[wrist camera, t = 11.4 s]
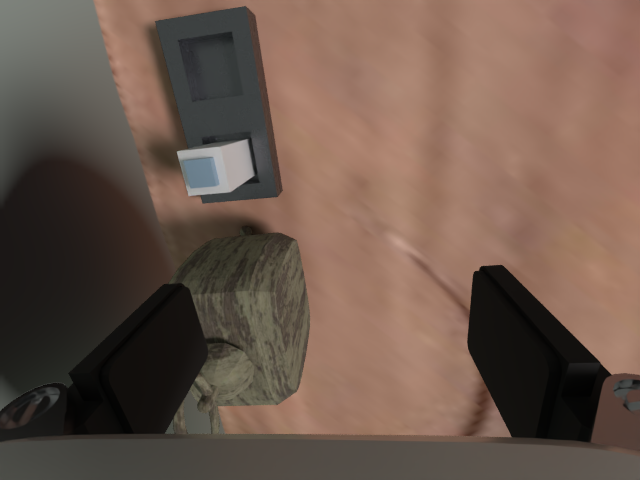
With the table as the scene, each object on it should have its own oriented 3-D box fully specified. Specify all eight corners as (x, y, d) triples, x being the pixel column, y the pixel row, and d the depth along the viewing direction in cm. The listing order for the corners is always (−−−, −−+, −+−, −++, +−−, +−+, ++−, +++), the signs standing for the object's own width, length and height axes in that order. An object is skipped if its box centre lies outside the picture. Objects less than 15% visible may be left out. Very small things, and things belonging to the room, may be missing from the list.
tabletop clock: (231, 217, 40) (72, 362, 17) (300, 210, 39) (230, 355, 16) (255, 311, 45) (158, 518, 22) (316, 307, 44) (281, 521, 21)
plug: (216, 141, 35) (171, 152, 26) (250, 138, 35) (216, 147, 26) (224, 176, 37) (184, 198, 28) (257, 173, 36) (227, 194, 27)
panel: (171, 28, 32) (155, 21, 29) (255, 15, 31) (246, 6, 28) (212, 196, 39) (202, 203, 36) (282, 190, 38) (277, 196, 35)
